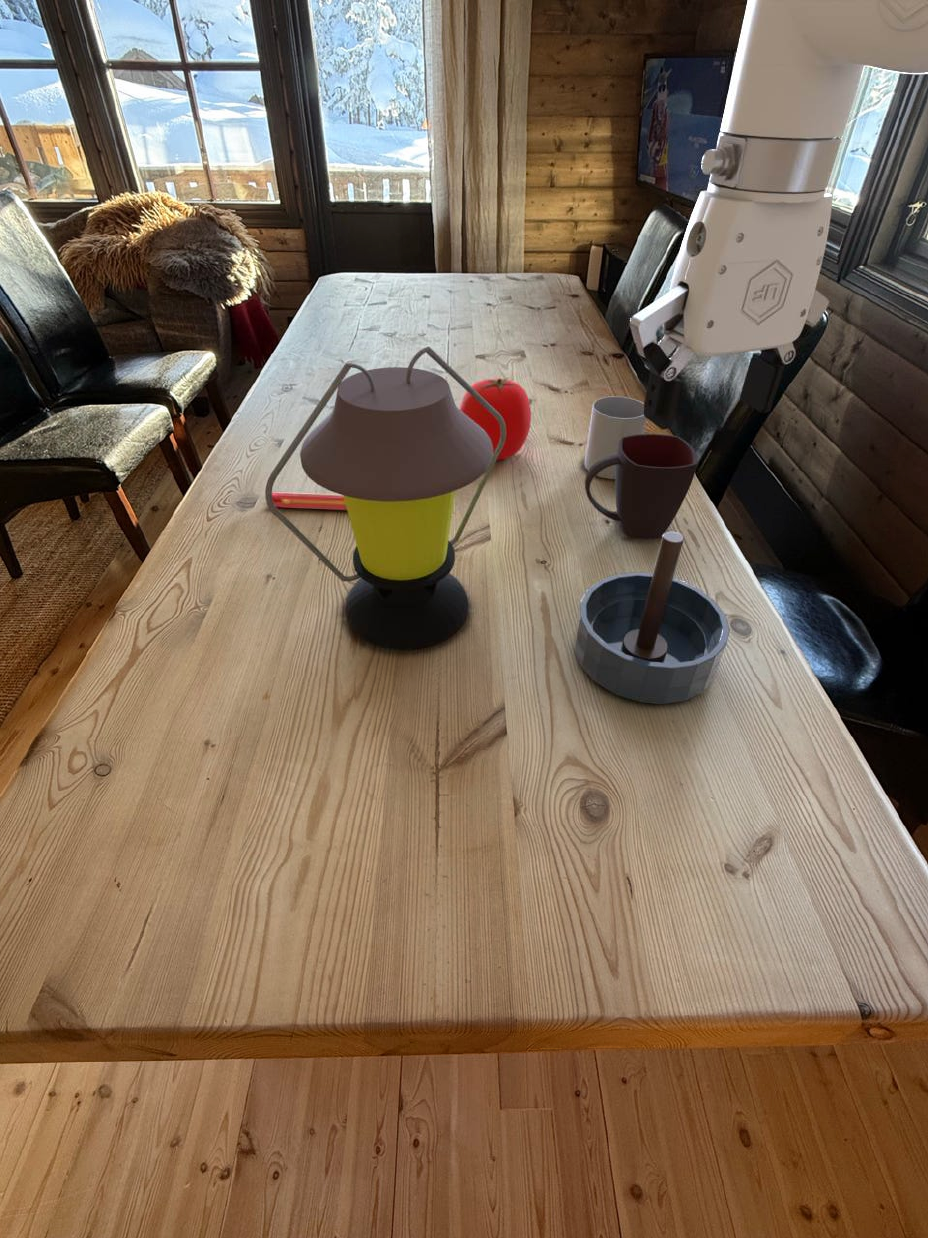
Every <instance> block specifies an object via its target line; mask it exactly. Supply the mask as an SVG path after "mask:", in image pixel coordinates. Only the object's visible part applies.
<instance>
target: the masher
mask: <svg viewBox="0 0 928 1238" xmlns="http://www.w3.org/2000/svg"><path fill="white" fill-rule="evenodd" d="M684 540H685V538H684V535H682V534H681V533H680V532H677V531H672V530H670V531H669V530H668V531H665V533H664V534H663V535H662V536H661V541H660V545H659V549H658V551H657V557H656V560H655V566H654V568H653V569H654V570H653V572H652V573H653V576H652V580H651V584H650V588H649V592H648V597H647V601H646V605H645V609H644V613H643V617H642V621H641V625H640V629H635V630H632V631H629V632H628V633H627V634H626V635H625V636H624V639H623V643H622V652H623V653H624V654H626V655H629V656H633V657H636V658H639V659H642V660H646V661H649V662H662V661H663V660H664V659H665V656H666V653H667V649H668V645H667V642H666V640H665V639H664V638H663V637H662V636H661V635H660V634H658V632H659V628H660V625H661V621H662V617H663V614H664V610H665V606H666V603H667V599H668V595H669V592H670V588H671V585H672V581H673V578H675V572H676V570H677V566H678V562H679V558H680V555H681V552H682V548H683V545H684Z"/></svg>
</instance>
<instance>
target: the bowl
mask: <svg viewBox="0 0 928 1238" xmlns="http://www.w3.org/2000/svg"><path fill="white" fill-rule="evenodd" d="M652 576H653V572H640V571H636V572H635V571H633V572H626V573H618V574H617V573H616V574H613V575H610V576H608V577H605V578H603V579H600V580H598V581H597V582H595V583H594V584H593V585H591V586H590V587H589V588H588V589H586V591H585V592H584V595H583V596H582V598H581V600H580V602H579V607H578V613H577V618H576V626H575V631H574V637H573V638H574V639H573V641H574V644H573V645H574V646H573V647H574V655H575V657H576V658H577V661H578V663H579V665H580V667H581V669H582V670H583V671H584V672H585V673H586V674H587V675H588V677H590V678H591V679H592V680H593V681H594V682H595V683H596V684H597V685H599V686H601V687H603V688H604V689H606V690H607V691H610V692H611V693H613V694H615V695H617V696H619V697H622V698H626V699H629V700H632V701H634V702H635V701H636V702H639V703H646V704H647V703H648V704H657V705H666V704H673V703H677V702H678V703H679V702H684V701H687V700H690V699H692V698H693V697H696V696H698V695H700V694H702V693H703V692H704V691H705V690H706V689H707V688H708V686H709V685H710V684H711V683H712V682H713V681H714V680H715V677H716V674H717V671H718V669H719V667H720V663H721V661H722V659H723V655H724V653H725V650H726V647H727V645H728V641H729V636H730V631H731V630H730V626H729V623H728V618H727V615H726V613H725V612H724V611H723V610H722V608H721V607H720V606H719V605H718V603H717V602H716V600H714V599H713V598H712V597H711V596H709V595H708V594H707V593H705V592H704V591H703V590H701V589H700V588H698V587H697V586H694V585H692V584H691V583H688V582H686V581H683V580H681V579H679V578H675V577H673V581H672V585H671V588H670V592H669V595H668V599H667V603H666V606H665V610H664V614H663V617H662V621H661V625H660V628H659V632H658V634H660V635H661V636H662V637H663V638H664V639H665V640H666V642H667V645H668V649H667V653H666V656H665V659H664V660H663V661H662V662H649V661H646V660H642V659H639V658H636V657H633V656H629V655H626V654H624V653H623V652H622V643H623V639H624V636H625V635H626V634H627V633H628V632H629V631H632V630H635V629H640V625H641V621H642V617H643V613H644V609H645V605H646V601H647V597H648V592H649V588H650V584H651V580H652Z"/></svg>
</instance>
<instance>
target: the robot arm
mask: <svg viewBox="0 0 928 1238" xmlns="http://www.w3.org/2000/svg"><path fill="white" fill-rule="evenodd" d="M744 12H745V13H744V17H743V22H742V26H741V31H740V36H739V40H738V44H737V50H736V55H735V59H734V63H733V69H732V73H731V78H730V83H729V87H728V91H727V92H728V93H727V97H726V102H725V107H724V112H723V117H722V121H721V125H720V132H719V134H718V138H717V143H716V148H715V149H713V148H712V149H708V150H706V151H705V152H704V154H703V156H702V159H701V171H702V173H703V175H706V176H707V175H710V177H709V181H708V186H707V190H701V191H700V193H699V196H698V198H697V201H696V202H695V206H694V208H693V209H692V210H693V211H692V213H691V215H690V218H689V222H688V225H687V227H686V231H685V232H684V235H683V236H684V237H683V240H682V242H681V246H680V248H679V253H678V256H677V259H676V263H675V267H674V269H673V270H674V271H673V273H672V278H671V281H670V286H669V291H668V292H666V293H665V294H663V295H662V296H661V297H658V299H656V300H654V301H653V302H652V303H650V304H649V305H647V306H646V307H644V308H643V309H641V310H640V311H638V312H636V313H635V314H633V316H631V318H630V320H629V328H630V331H631V335H632V338H633V342H634V344H635V348H634V349H635V353H636V354H637V355H638V356H639V358H640V359H641V361H642V362H643V364H644V367H645V368H646V369H648V370H649V371H650V372H649V377H648V382H647V387H646V391H645V396H644V397H645V398H644V401H643V404H644V416H645V417H646V418H647V420H649V421H650V422H651V423H653V425H655V426H656V427H658V428H659V429H660V430H661V431H662V430H669V429H671V427H672V426H673V424H674V420H675V414H676V410H677V405H678V403H679V402H678V401H679V398H680V397H679V396H680V392H681V388H682V380H681V379H679V378H677V376H678V375H679V374H680V373H681V372H682V370H683V369H684V368H685V367H686V365H688V363H689V362H690V361H692V359H693V357H694V356H695V355H698V356H701V357H707V358H709V357H719V356H726V355H727V356H728V355H734V354H742V353H749V352H753V353H752V356H751V358H750V361H749V364H748V367H747V371H746V374H745V378H744V381H743V384H742V387H741V391H740V395H739V400H740V401H741V402H743V403H744V404H746V405H748V406H749V407H750V408H752V409H754V410H756V411H757V412H759V413H761V414H764V413H769V412H770V411H771V409H772V406H773V402H774V400H775V397H776V394H777V391H778V388H779V385H780V382H781V379H782V375H783V373H784V369H785V367H786V365H788V364H791V363H792V361H794V358H795V357H796V350H797V349H799V348H800V347H801V346H802V345H803V344H804V343H805V342H806V341H807V340H808V339H809V338H810V336H811V335H812V332H813V326H814V327H815V326H816V324H817V322H818V321H819V320H820V319H821V317H822V316H823V314H824V313H825V312H826V310H827V308H828V307H829V305H830V300H829V299H828V298H827V297H826V296H825V295H824V294H822V293H821V292H820V291H818V290H817V289H816V287H817V283H818V280H819V276H820V272H821V269H822V264H823V259H824V256H825V251H826V247H827V241H828V235H829V231H830V224H831V217H832V208H833V194H832V193H829V192H827V188H828V185H829V183H830V179H831V177H832V173H833V169H834V166H835V163H836V160H837V157H838V154H839V151H840V147H841V144H842V141H843V136H844V134H845V131H846V128H847V124H848V122H849V118H850V116H851V115H850V114H851V111H852V108H853V106H854V102H855V99H856V95H857V92H858V90H859V86H860V85H861V84H860V83H861V80H862V77H863V74H864V70H865V67H869V68H873V69H877V70H882V71H887V72H893V73H897V74H898V73H899V74H906V75H907V74H908V75H928V0H747V3H746V7H745V11H744ZM662 325H663V326H662ZM660 326H662V330H663V331H662V332H663V335H664V336H663V337H662V338H661V339H660V341H658V340H657V339H658V337H657V332H658V329H659V328H660ZM677 347H678V348H677ZM676 348H677V349H676ZM675 349H676V350H675ZM674 350H675V352H674V353H673V351H674ZM672 353H673V354H672ZM670 355H671V357H669V356H670Z"/></svg>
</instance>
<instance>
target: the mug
mask: <svg viewBox="0 0 928 1238" xmlns="http://www.w3.org/2000/svg"><path fill="white" fill-rule="evenodd" d="M698 464H699V456H698V454H697V452H696V450H695V449H694V447H693V446H692V445H691V444H689V442H687V441H686V440H685V439H683V438H681V437H679V436H677V435H671V434H662V433H644V434H637V435H630V436H625V437H621V438H620V440H619V443H618V449H617V455H613V456H609V457H606V458H603V459H601V460H599V461H598V462H596V463H595V464H594V465H593V466H592V467H591V468H590V469H589V471H588V470H587V473H586V474H585V475H586V476H585V479H584V488H585V493H586V496H587V498H588V501H589V502H590V503H591V505H592V506H593V507H594V508H595V509H596V510H597V511H598V512H599V513H601V514H602V515H603V516H605V517H606V518H608V519H610V520H613V521H616V522H617V523H618V526H619V529H620V530H621V532H622V533H623V534H624V535H625V536H626V537H627V538H628V539H635V540H653V539H659V538H662V536H663V534H664V533H665V532H667V530H668V528H669V527H670V526H671V524H672V523H673V522H674V519H675V518H676V516H677V514H678V512H679V510H680V509H681V506H682V505H683V502H684V501H685V499H686V496H687V494H688V492H689V490H690V488H691V485H692V483H693V480H694V477H695V474H696V471H697V467H698ZM613 465H616V469H615V479H614V481H615V485H614V486H615V507H616V510H615V511H614V510H610V509H607V508H605V506H603V505H601V504H600V503H599V502H597V500H595V498H594V496H593V495H592V492H591V484H592V482H593V480H594V479H595V477H597V476H596V475H597V474H598V473H599V472H600V471H602V470H603V469H605V468H607V467H610V466H613Z"/></svg>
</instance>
